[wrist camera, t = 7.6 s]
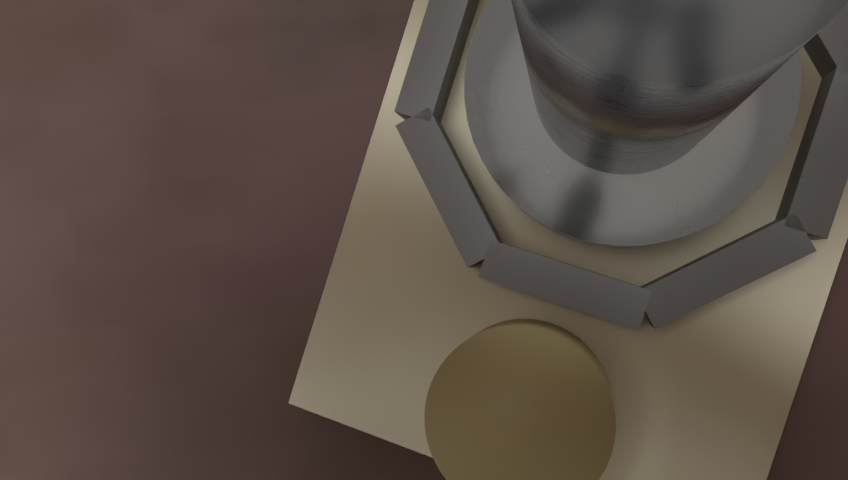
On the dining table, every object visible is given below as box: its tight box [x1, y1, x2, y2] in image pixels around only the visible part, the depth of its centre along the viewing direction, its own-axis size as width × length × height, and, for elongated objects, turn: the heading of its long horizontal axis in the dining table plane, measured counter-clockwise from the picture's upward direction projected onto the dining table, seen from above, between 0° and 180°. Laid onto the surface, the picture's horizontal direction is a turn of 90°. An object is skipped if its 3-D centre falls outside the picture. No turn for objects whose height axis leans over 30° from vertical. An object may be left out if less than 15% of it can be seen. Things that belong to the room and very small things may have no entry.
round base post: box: [464, 0, 848, 248], centre depth 12 cm, size 6×6×10 cm
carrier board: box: [288, 0, 848, 480], centre depth 17 cm, size 20×10×3 cm, turn 162°
